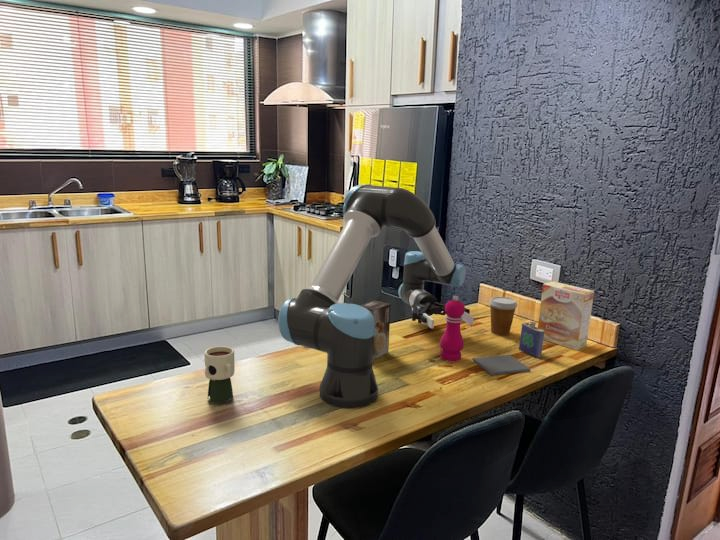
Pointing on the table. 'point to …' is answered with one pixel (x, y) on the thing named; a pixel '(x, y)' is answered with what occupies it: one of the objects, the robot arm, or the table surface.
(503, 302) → the disposable coffee cup
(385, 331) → the coffee box
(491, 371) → the charcoal mat
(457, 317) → the pepper mill
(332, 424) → the table surface
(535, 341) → the flask
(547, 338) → the coffeecake box
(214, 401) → the character mug
